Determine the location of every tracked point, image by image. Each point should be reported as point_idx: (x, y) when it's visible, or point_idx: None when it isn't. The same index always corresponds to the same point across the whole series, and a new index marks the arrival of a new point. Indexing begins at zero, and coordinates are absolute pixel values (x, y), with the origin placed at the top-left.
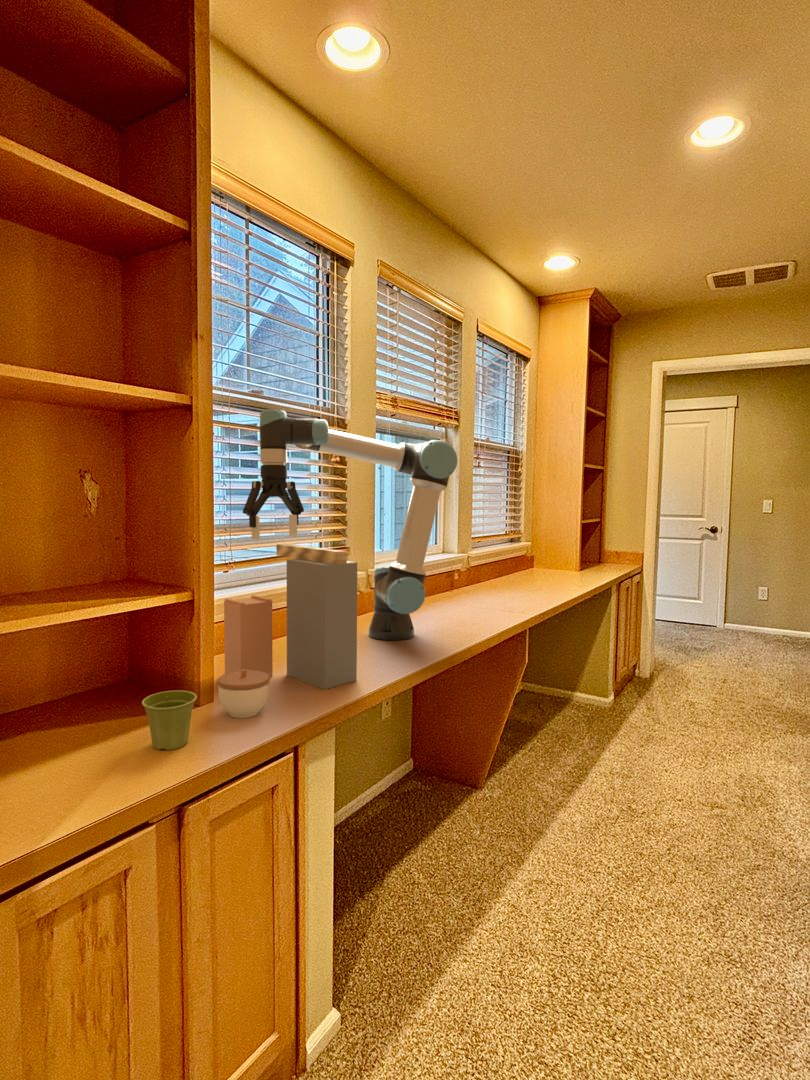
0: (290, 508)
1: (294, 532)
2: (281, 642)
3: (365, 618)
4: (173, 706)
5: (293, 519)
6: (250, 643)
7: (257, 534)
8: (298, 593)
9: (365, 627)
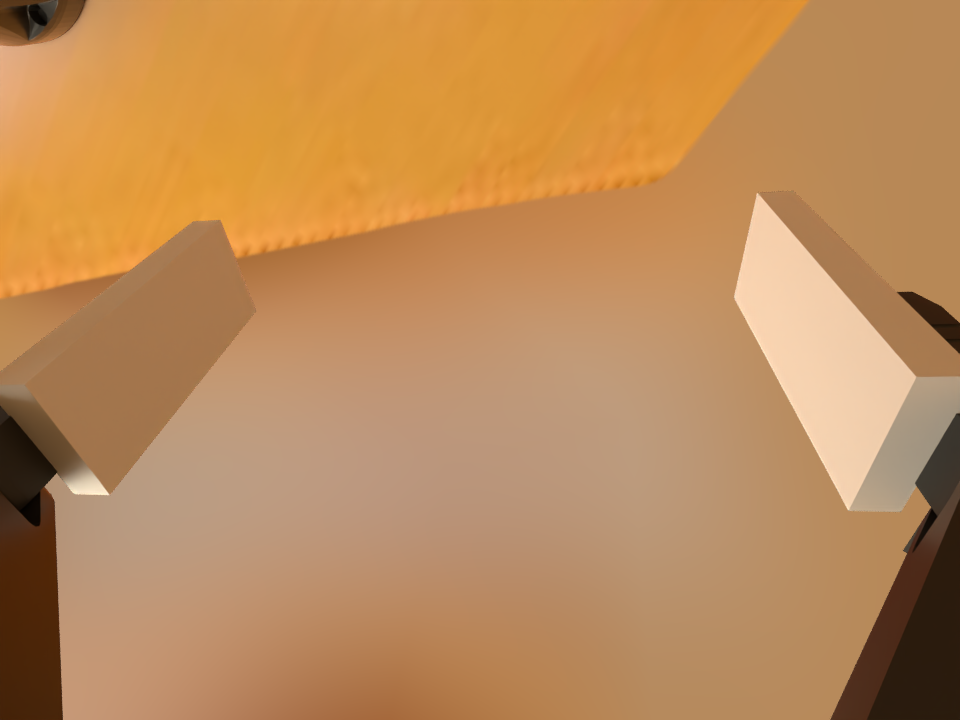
0: (10, 542)
1: (199, 253)
2: (433, 164)
3: (20, 248)
4: None
5: (102, 364)
6: None
7: (816, 216)
8: None
9: (59, 133)
